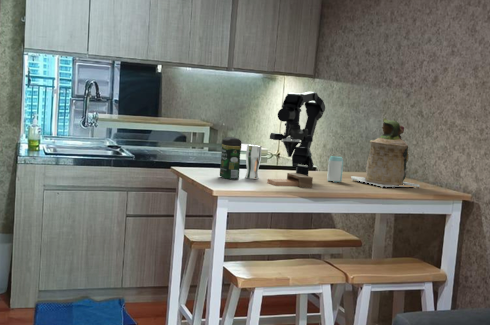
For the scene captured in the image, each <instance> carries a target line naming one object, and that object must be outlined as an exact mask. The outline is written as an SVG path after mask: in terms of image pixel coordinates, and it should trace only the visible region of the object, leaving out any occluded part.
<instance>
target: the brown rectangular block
mask: <svg viewBox="0 0 490 325" xmlns="http://www.w3.org/2000/svg"><path fill="white" fill-rule="evenodd" d="M286 174H287V176H286V179H290V180H299V184H298V186H297V187H298V188H313V180H314V179H313V176H309V175H308V176H306V175H303V174H300V173H296V172H287V173H286Z"/></svg>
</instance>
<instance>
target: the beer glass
mask: <svg viewBox="0 0 490 325" xmlns="http://www.w3.org/2000/svg"><path fill="white" fill-rule="evenodd" d="M245 151H246V152H245V153H246V154H245V161H246V162H245V163H246V164H245V165H246V173H245V175H244V176H245V178H246V179H248V178H249V179H250V180H258V179H259V167H260V164H261V160H262V146H261V145H255V144H247V146H246V150H245Z"/></svg>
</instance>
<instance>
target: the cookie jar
mask: <svg viewBox="0 0 490 325" xmlns="http://www.w3.org/2000/svg"><path fill="white" fill-rule="evenodd" d="M382 122H383V123H382V127H381V129H382V132H383V134H382V135H381V136H379V137H378V138H376V139H371V140H369V145H370V149H369V152H368V157H367V162H366V169H365V171H366V177H364V176H353V175H352V176H350V178H351V181H352V180H356V181H357V182H359V181H360V182H359V183H363V182H365V183H364V184H367V183H369V184H368V185H371V184H373V185H372V186H374V185H377V186H381V187H382V188H383V187H385V188H387V187H392V188H395V187H404V186H399V185H403V184H404V185H410V186H415V187H416V186H417V187H419V188H420V184H418V183H413V182H412V183H411V182H407V181H405V179H406V175H407V174H406V173H407V163H408V161H409V145H408V144H407V143H406V142H405V140H403V139H402V136H401V134H403V133H404V132H405V127H404V126H403V125H401V124H400V122H398V121H397V120H392V119H390V120H389V119H387V118H385V117H384V118H383V119H382ZM377 186H376V187H377Z"/></svg>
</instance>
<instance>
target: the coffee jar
mask: <svg viewBox="0 0 490 325" xmlns="http://www.w3.org/2000/svg"><path fill="white" fill-rule="evenodd" d="M221 140H222V141H221V155H220V156H221V157H220V166H219V177H220V178H223V179H225V180H226V179H228V180H239V179H240V167H241V166H240V164H241V150H242V140H241V139H240V138H237V137H235V136H234V137H233V136H225V137H223V138H222V139H221Z"/></svg>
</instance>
